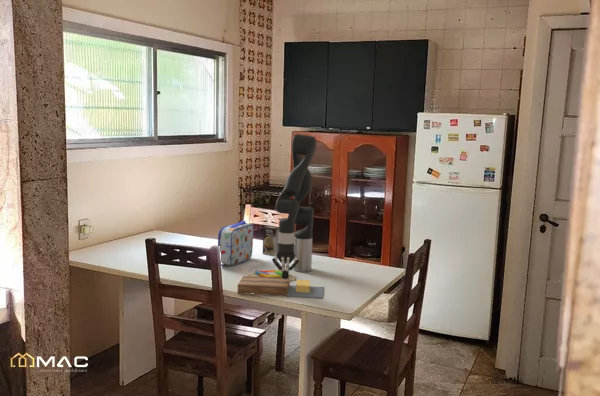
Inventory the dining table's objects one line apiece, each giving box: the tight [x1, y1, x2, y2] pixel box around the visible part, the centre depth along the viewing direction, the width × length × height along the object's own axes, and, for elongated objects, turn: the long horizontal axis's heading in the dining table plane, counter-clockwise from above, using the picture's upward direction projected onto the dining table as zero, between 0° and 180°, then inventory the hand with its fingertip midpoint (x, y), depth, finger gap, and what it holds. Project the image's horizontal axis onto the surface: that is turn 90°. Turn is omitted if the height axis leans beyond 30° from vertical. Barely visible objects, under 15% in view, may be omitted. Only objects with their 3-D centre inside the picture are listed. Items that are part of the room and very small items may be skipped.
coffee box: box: [262, 225, 279, 257], centre depth 320 cm, size 9×6×16 cm
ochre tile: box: [295, 279, 311, 292], centre depth 254 cm, size 9×6×3 cm, turn 177°
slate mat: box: [285, 284, 325, 299], centre depth 251 cm, size 16×16×1 cm
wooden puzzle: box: [246, 269, 297, 282], centre depth 272 cm, size 18×19×4 cm
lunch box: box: [217, 220, 255, 266], centre depth 300 cm, size 28×10×22 cm, turn 158°
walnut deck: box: [237, 275, 291, 297], centre depth 252 cm, size 14×22×4 cm, turn 86°
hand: (285, 278), depth 254 cm, fingers closed
